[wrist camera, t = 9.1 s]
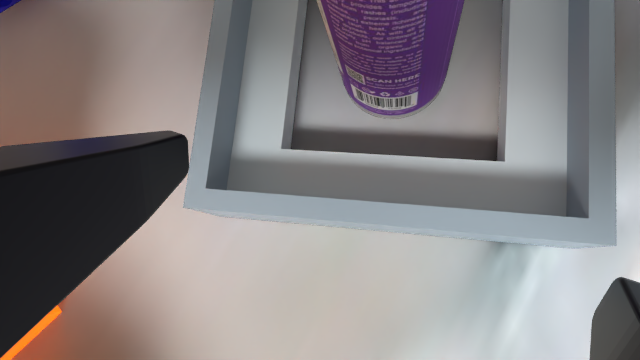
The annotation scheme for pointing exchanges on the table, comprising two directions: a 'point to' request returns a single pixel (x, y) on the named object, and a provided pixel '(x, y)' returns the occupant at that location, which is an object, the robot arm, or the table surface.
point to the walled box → (409, 171)
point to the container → (392, 50)
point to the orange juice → (32, 334)
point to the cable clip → (7, 4)
